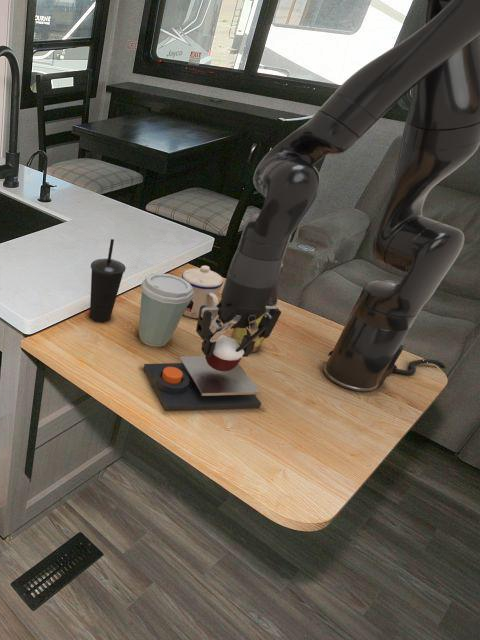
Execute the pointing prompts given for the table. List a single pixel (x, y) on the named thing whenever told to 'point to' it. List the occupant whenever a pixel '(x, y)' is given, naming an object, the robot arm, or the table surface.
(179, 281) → the disposable coffee cup
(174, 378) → the power button
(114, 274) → the drinking cup
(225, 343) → the cocoa
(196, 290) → the teacup with lid
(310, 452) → the table surface
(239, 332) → the sauce bottle
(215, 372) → the weighing plate
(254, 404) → the scale
